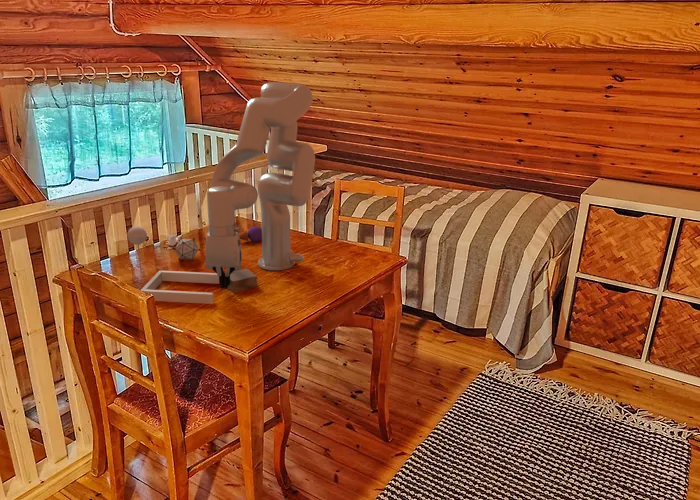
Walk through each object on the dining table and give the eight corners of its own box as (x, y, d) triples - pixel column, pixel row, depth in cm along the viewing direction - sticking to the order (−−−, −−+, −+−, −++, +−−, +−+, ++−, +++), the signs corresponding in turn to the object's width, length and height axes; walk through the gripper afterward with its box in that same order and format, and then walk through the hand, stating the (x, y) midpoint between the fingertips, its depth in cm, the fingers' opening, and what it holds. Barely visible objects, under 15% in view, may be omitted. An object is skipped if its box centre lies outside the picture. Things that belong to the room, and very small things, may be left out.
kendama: (208, 232, 212) (260, 224, 218) (210, 248, 213) (263, 239, 219) (209, 235, 206) (264, 226, 212) (212, 251, 207) (266, 241, 214)
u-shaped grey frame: (226, 282, 179) (225, 273, 178) (212, 303, 165) (212, 294, 164) (160, 279, 180) (159, 270, 179) (140, 300, 166) (139, 290, 165)
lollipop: (127, 269, 186) (122, 226, 181) (144, 265, 190) (139, 222, 185) (137, 275, 182) (132, 231, 177) (153, 270, 187) (149, 227, 181)
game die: (188, 271, 196) (179, 256, 187) (173, 257, 199) (164, 242, 191) (208, 255, 199) (200, 239, 191) (193, 242, 202) (185, 226, 194)
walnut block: (247, 280, 182) (247, 268, 181) (257, 287, 177) (256, 276, 176) (224, 285, 178) (223, 273, 177) (233, 293, 173) (232, 281, 171)
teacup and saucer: (171, 240, 215) (171, 230, 213) (189, 243, 212) (188, 233, 211) (156, 247, 207) (155, 237, 206) (173, 251, 205) (172, 240, 203)
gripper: (250, 226, 168) (252, 283, 175) (200, 224, 169) (204, 280, 175) (244, 234, 161) (246, 293, 168) (192, 232, 162) (196, 290, 168)
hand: (225, 286), depth 171 cm, fingers closed
